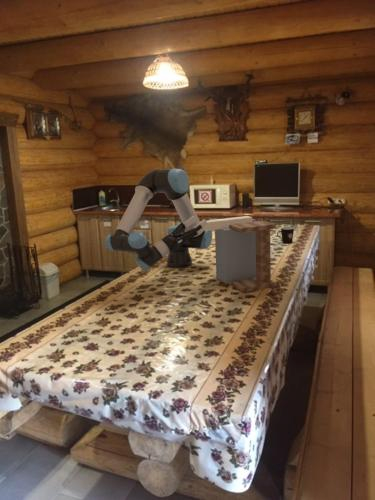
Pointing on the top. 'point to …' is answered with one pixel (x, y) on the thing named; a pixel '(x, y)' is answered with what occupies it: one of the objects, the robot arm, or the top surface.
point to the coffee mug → (286, 234)
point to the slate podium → (235, 255)
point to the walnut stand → (257, 256)
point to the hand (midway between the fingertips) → (200, 219)
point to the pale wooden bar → (225, 222)
